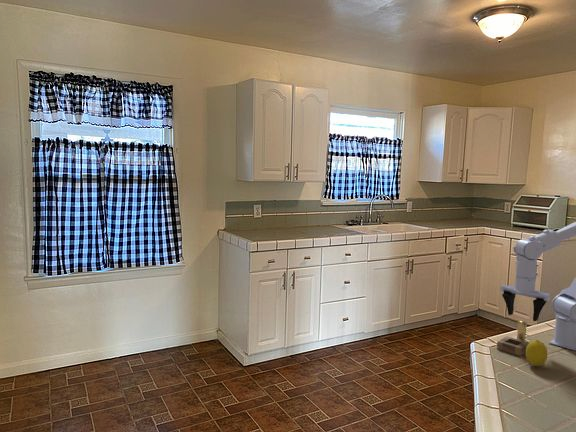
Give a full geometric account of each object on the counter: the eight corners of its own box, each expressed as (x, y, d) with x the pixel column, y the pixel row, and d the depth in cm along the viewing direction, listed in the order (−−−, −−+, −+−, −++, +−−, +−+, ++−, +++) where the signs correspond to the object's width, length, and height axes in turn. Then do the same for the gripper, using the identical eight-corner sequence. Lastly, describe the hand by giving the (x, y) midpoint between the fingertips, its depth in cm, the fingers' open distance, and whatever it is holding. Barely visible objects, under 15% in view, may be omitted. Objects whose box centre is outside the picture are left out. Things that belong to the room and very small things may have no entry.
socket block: (506, 343, 145) (507, 336, 145) (528, 350, 140) (529, 342, 140) (497, 348, 141) (497, 341, 141) (519, 355, 136) (520, 348, 135)
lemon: (549, 371, 125) (551, 344, 124) (528, 369, 126) (530, 342, 125) (542, 363, 131) (544, 337, 130) (522, 361, 132) (524, 335, 131)
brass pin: (518, 342, 146) (519, 319, 145) (526, 345, 144) (527, 321, 143) (515, 344, 145) (516, 321, 144) (523, 347, 143) (524, 323, 142)
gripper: (497, 274, 145) (494, 314, 146) (545, 283, 134) (542, 326, 135) (506, 271, 149) (504, 310, 151) (553, 279, 138) (550, 321, 140)
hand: (522, 317), depth 143 cm, fingers open, 7 cm apart
